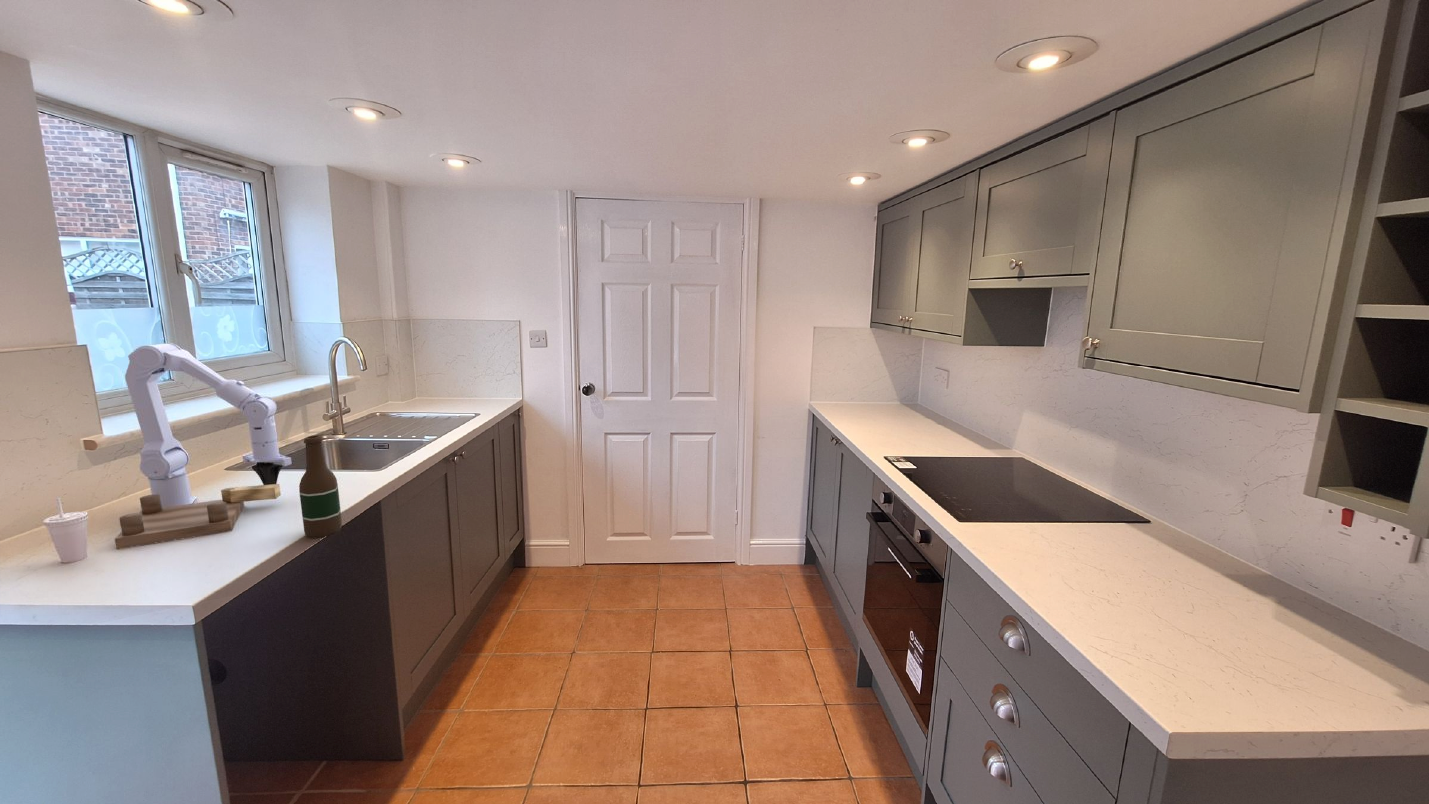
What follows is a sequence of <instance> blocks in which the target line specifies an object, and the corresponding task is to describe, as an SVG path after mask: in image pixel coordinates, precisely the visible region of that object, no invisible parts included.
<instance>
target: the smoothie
mask: <svg viewBox="0 0 1429 804" xmlns="http://www.w3.org/2000/svg"><path fill="white" fill-rule="evenodd" d="M55 502H56V506H57V511H58V514H56V515H52V516H49V517H47V518H45V519H44V520H43V521H42V522H43V527H46V529H47V532H48V534H49V536H50V538H51V541H52V543H53V546H54V548H55V549H56V550H55V551H56V552H57V554H58V558H59V559H60V563H63V564H68V563H74V562H78V561H82V560H84V559H86V558H87V557H88V533H87V531H88V530H87V529H88V524H87V523H88V522H87V520H88V519H89V517H90V516H89V515H88V512H87V511H70V512H65V513H64V511H63V507H62V502H61V497H56V498H55Z"/></svg>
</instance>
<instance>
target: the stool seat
mask: <svg viewBox="0 0 1429 804" xmlns="http://www.w3.org/2000/svg"><path fill="white" fill-rule="evenodd" d="M139 502H140V508H141V511H140V512H138V513H137V512H136V513H129V514H125V515H122V516H120V517H119V524H120V530H121V532H120V533H118V534H117V536H115V538H114V543H115V548H116V550H120V548H121V549H126V548H132V547H131V546H133V547H137V545H140V546H145V544H146V545H151V544H156V543H155V542H158V543H163V542H162V541H165V542H168V541H169V542H170V540H171V541H175V540H174V539H177V540H183V539H182V538H184V539H188V538H189V537H190V538H194V537H193V536H196V537H202V536H208V535H214V534H220V533H227V532H232V531H233V529H234V527H235V525H236V523H237V521H238V519H239V517H240V515H241V513H242V511H243V509H244V507H245V501H244V502H228V503H226V502H223V501H222V499H217V500H208V501H201V502H195V503H194V502H193V503H192V504H186V505H178V506H171V507H164V508H162V505H161V499H160V495H159V494H153V495H151V494H147V495H144V496H141V497H139ZM201 535H202V536H201Z"/></svg>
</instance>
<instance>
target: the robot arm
mask: <svg viewBox="0 0 1429 804" xmlns="http://www.w3.org/2000/svg"><path fill="white" fill-rule="evenodd" d="M127 357H128V360H129V363H128V365H127V369H126V372H125V374H124V379H125V383H126V386H127V389H128V393H129V395H130V399H131V401H132V405H133V409H134V412H135V414H136V418H137V422H138V425H139V428H140V431H141V434H142V438H143V440H144V445H143V447H142V449H141V451H140V453H139V455H140V457H141V458H140V459H141V461H140V463H139V469H140V472H141V474H143V475H144V476H145V477H147V479H148V480H147V481H148V482H149V488H150V495H153V494H159V495H160V499H161V505H162V508H164V507H171V506H178V505H186V504H193V503H194V502H195V501H196V499H197V496H192V490H191V484H190V479H189V476H188V474H187V471H186V467H187V466H188V464H190V463H189V462H190V461H191V459H190V455H189V453H188V452H187V450H185V449H184V448H183V446H182V443H181V441H179V440H178V439H176V438H174V435H173V432H172V430H171V429H172V428H171V426H170V422H169V419H168V416H167V412H166V409H165V405H164V402H163V399H162V396H161V392H160V390H159V385H158V383H157V382H158V379H160V378H161V377H162V376H163V375H164V374H165V373H166V372H168V371H169V372H182V373H185V374H187V375H188V376H191V377H192V378H194V379H196V380H198V381H199V382H201V383H203V384H205V385H207V386H208V387H211V389H214V390H215V392H216V393H215V395H216V396H217V397H218V398H220V399H221V400H223V401H225V402H227V404H229V405H231V406H233V407H235V408H236V409H238V410H239V411H241V413H242V416H243V417H244V418H245V419H246V420H247V421H248V428H249V435H250V442H251V443H250V444H251V449H252V451H251V452H252V453H247V454H243V455H242V461H243V463H249V462H250V463H252V464H254V463H255V465H252V466H251V469H252V470H253V471H254V472H255V473H256V474H257V476H258V477H259V479H260V481H261V482H262V485H272V484H278V479H279V474H280V471H281V470H282V468H283V467H287V466H290V465H292V463H293V462H292V457H289V456H285V455H282V454H280V450H279V449H280V448H279V443H278V442H279V441H278V433H277V425H276V420H275V413H277V410H278V405H277V403H276V402H275V400H274V399H273V398H271V397H270V396H265V395H263V396H262V394H261V393H260V392H255V391H253V390H252V389H250V388H249V387H247V386H246V385H245V382H244V381H242V380H236V379H226V378H224V377H223V376H222V375H220V374H219V373H217V372H215V371H214V370H213V369H212V368H211V367H208V366H207V365H205V364H204V363H203V362H201V361H200V360H198V358H196V357H194V356H193V355H192V354H191V353H190V352H189V351H188V350H186V349H182V348H181V347H180V346H179V345H177V344H175V343H172V342H164V343H159V344H153V345H151V344H150V345H142V346H138V347H137V348H135V349H134V350H133V351H132V352H131V353H130V354H128V356H127Z"/></svg>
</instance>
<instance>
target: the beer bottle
mask: <svg viewBox="0 0 1429 804" xmlns="http://www.w3.org/2000/svg"><path fill="white" fill-rule="evenodd" d="M323 440H324V439H323V437H322V436H321V435H310V436H306V437H304V440H303V444H305V461H306V462H305V463H306V464H305V465H306V466H305V472H304V473H303V474H302V477H301V480H300V481H299V486H298V487H299V489H298V490H299V500H300V507H301V515H302V523H303V530H304V535H305V536H306V537H309V538H313V539H316V538H325V537H329V536H332V535H335V534H337V533H340V531H341V529H342V528H343V527H342V526H343V525H342V523H343V522H342V511H341V501H340V494H339V484H338V480H337V477H336V475H335V473H334V472H333V471H331V470H330V469H329V468H328V466H327V462H326V457H325V453H324V447H323V443H322V441H323Z"/></svg>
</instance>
